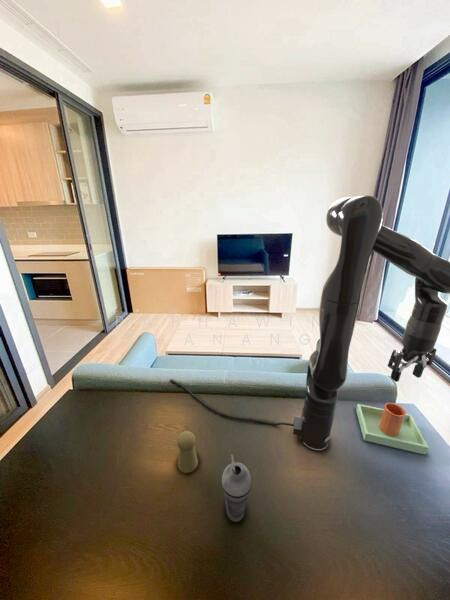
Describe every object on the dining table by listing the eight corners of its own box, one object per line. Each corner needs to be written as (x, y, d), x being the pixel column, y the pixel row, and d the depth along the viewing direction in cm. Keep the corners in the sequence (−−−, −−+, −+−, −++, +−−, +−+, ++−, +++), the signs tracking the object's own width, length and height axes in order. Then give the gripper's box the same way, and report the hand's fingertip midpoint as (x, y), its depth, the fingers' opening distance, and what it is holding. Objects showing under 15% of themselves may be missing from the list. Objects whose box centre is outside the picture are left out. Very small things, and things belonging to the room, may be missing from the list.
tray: (363, 440, 82) (365, 433, 81) (356, 410, 94) (357, 403, 93) (425, 454, 77) (428, 447, 76) (408, 421, 89) (411, 414, 88)
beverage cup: (248, 532, 58) (251, 475, 51) (218, 524, 60) (217, 468, 53) (251, 498, 65) (254, 444, 58) (224, 492, 66) (224, 439, 59)
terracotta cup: (381, 434, 83) (387, 413, 80) (376, 420, 88) (382, 401, 85) (401, 438, 82) (408, 418, 78) (395, 424, 87) (402, 404, 84)
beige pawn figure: (201, 458, 76) (200, 432, 72) (191, 476, 70) (189, 449, 67) (185, 450, 78) (183, 424, 74) (173, 467, 73) (171, 440, 69)
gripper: (427, 324, 76) (412, 367, 81) (390, 328, 72) (376, 373, 78) (453, 336, 69) (435, 382, 75) (413, 341, 66) (397, 389, 71)
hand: (405, 378), depth 76 cm, fingers open, 8 cm apart
